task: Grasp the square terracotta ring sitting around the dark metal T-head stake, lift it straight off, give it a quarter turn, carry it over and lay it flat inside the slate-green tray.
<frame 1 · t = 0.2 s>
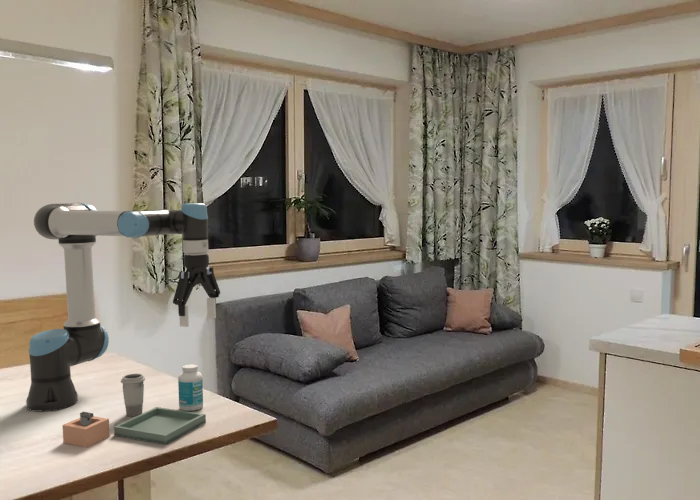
hand: (198, 322, 198), 28 cm above the table, fingers open, 13 cm apart
stake: (86, 439, 177), on the table
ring: (86, 439, 177), on the table
pill bottle: (191, 408, 202), on the table
cup: (134, 414, 197), on the table
tray: (161, 428, 184), on the table
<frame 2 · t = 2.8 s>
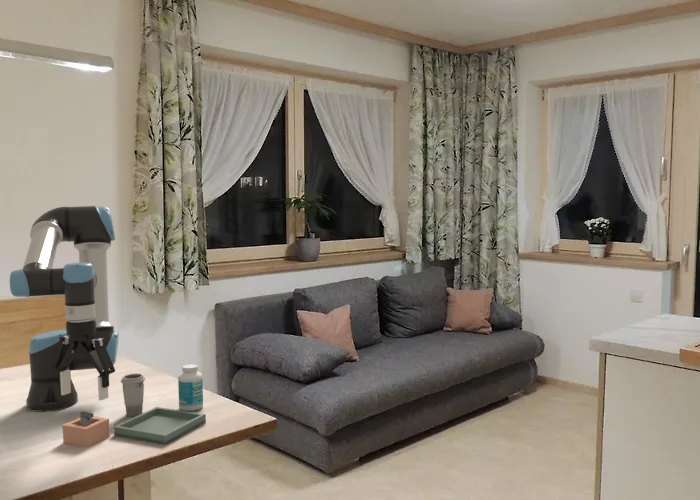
hand: (84, 396, 175), 12 cm above the table, fingers open, 13 cm apart
nothing on the table moved.
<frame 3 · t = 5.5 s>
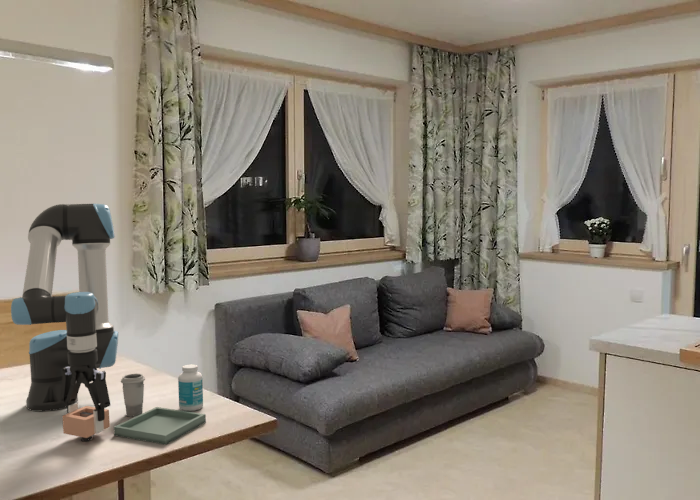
hand: (86, 429, 177), 3 cm above the table, fingers closed on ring, 8 cm apart
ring: (86, 430, 177), point 2 cm above the table, touching gripper
everything else where it was.
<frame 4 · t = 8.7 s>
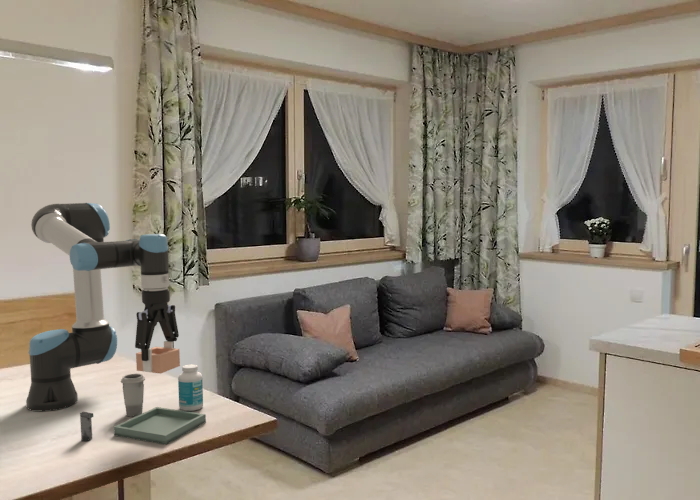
hand: (158, 367, 182), 18 cm above the table, fingers closed on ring, 8 cm apart
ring: (158, 368, 182), point 18 cm above the table, touching gripper
everything else where it was.
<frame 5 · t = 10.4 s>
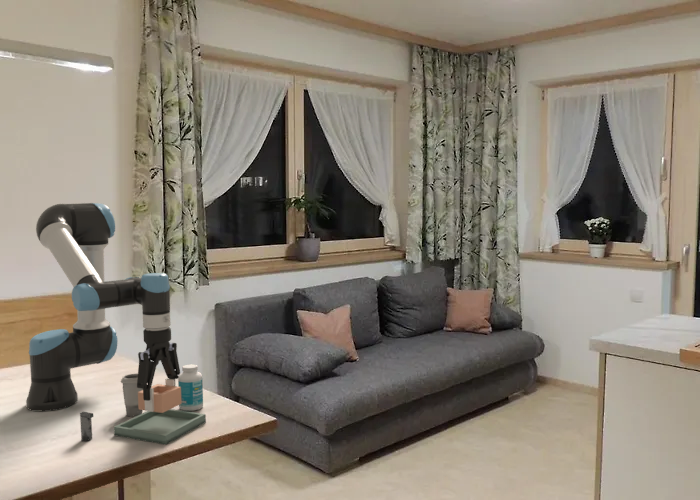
hand: (160, 405, 183), 7 cm above the table, fingers closed on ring, 8 cm apart
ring: (160, 406, 183), point 7 cm above the table, touching gripper
everything else where it was.
when the fingers open (2 cm above the table, at t = 11.8 s): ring drops 1 cm, resting on tray.
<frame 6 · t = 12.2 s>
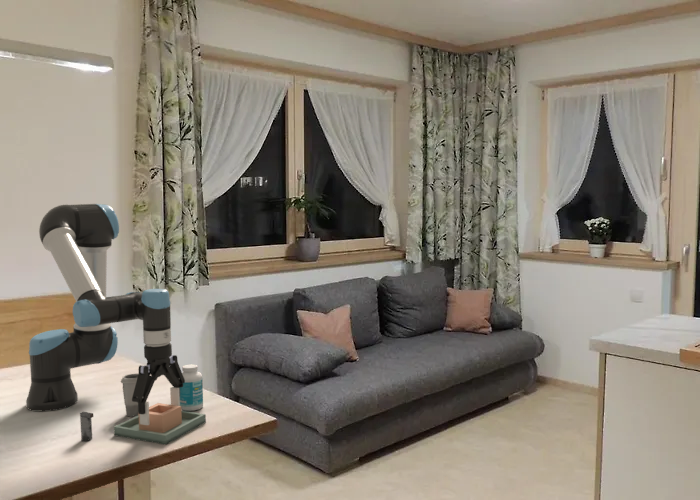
hand: (160, 416, 184), 4 cm above the table, fingers open, 13 cm apart
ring: (160, 426, 184), point 1 cm above the table, touching tray
everything else where it was.
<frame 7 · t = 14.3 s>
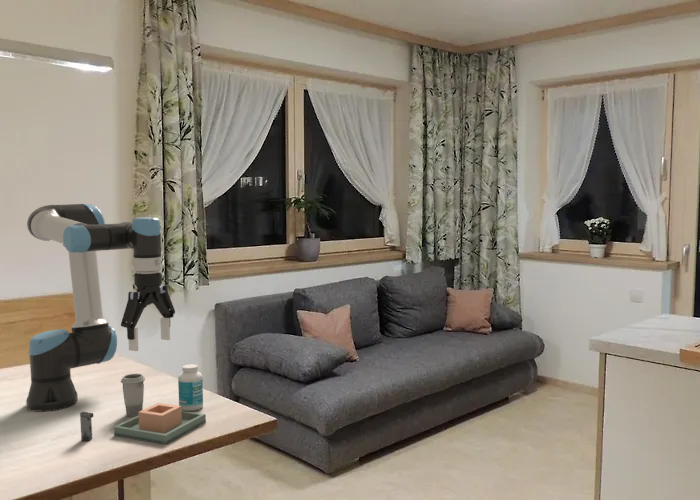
hand: (150, 344, 184), 24 cm above the table, fingers open, 13 cm apart
nothing on the table moved.
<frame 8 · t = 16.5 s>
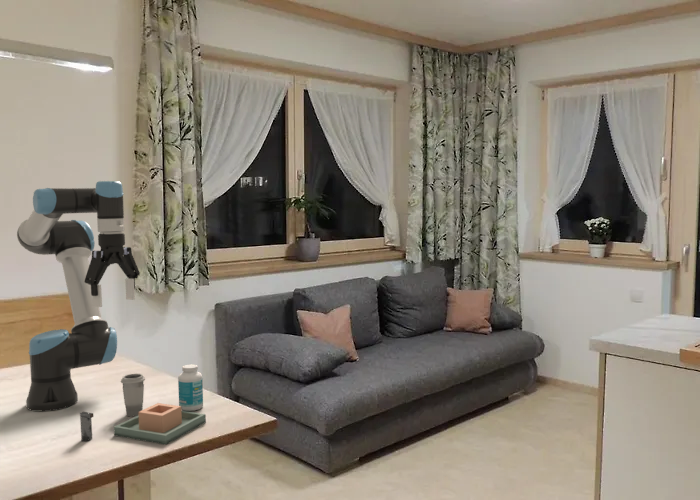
hand: (114, 303, 193), 35 cm above the table, fingers open, 13 cm apart
nothing on the table moved.
at the end: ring inside the target area on the tray (0.1 cm from its centre), point 0.8 cm above the tray's base; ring tilted 0°; the gripper is holding nothing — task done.
